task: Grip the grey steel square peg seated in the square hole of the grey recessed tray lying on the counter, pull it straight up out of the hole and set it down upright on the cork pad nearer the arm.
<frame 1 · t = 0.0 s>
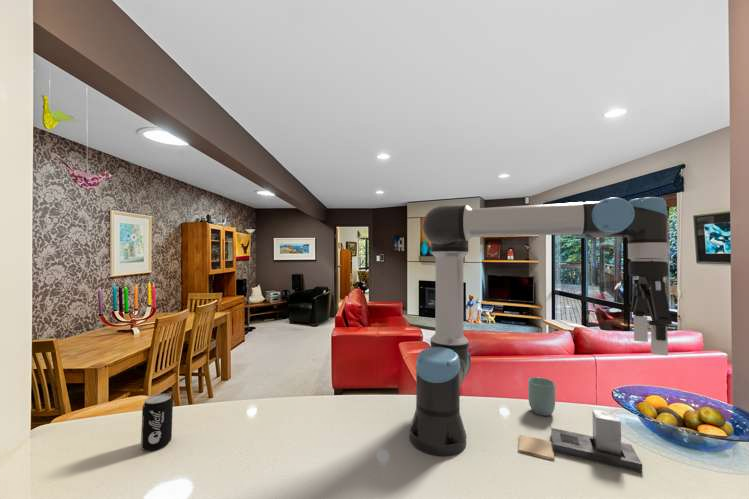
hand: (649, 347, 78), 28 cm above the counter, fingers open, 13 cm apart
cork pad: (535, 447, 83), on the counter
steel peg: (606, 455, 80), resting in grey recessed tray
cup: (541, 413, 103), on the counter
grey recessed tray: (592, 452, 82), on the counter
beverage can: (156, 445, 83), on the counter
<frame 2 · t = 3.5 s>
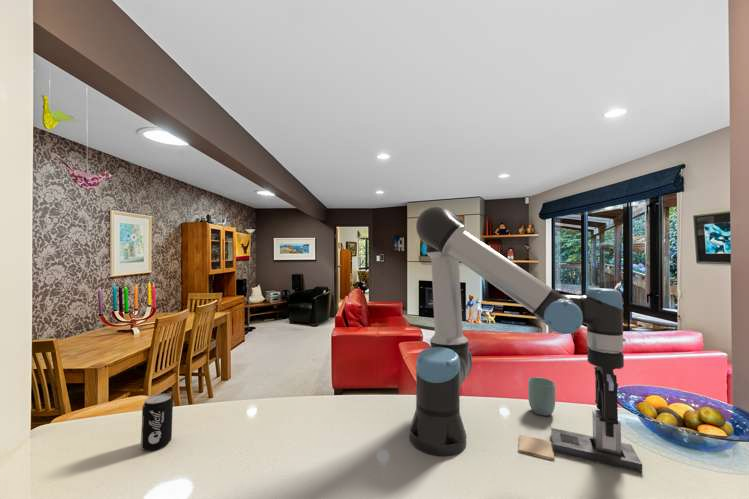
hand: (606, 442, 81), 3 cm above the counter, fingers closed on steel peg, 5 cm apart
steel peg: (606, 455, 80), resting in grey recessed tray, touching gripper
everything else where it was.
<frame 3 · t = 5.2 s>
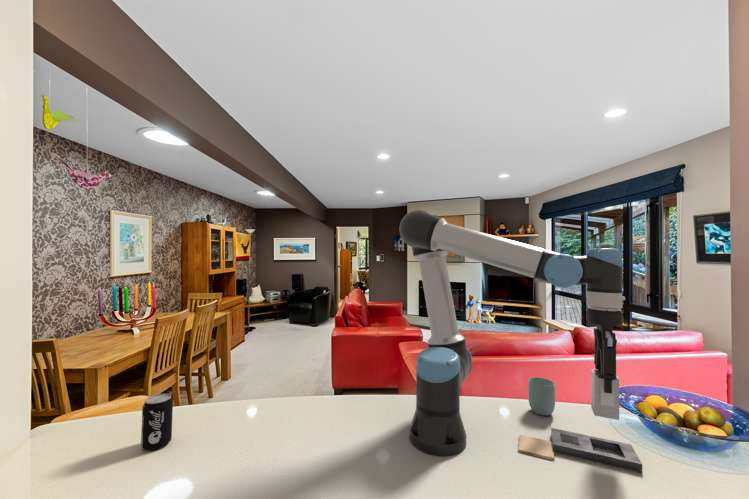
hand: (604, 400, 81), 14 cm above the counter, fingers closed on steel peg, 5 cm apart
steel peg: (604, 413, 81), point 10 cm above the counter, touching gripper
everything else where it was.
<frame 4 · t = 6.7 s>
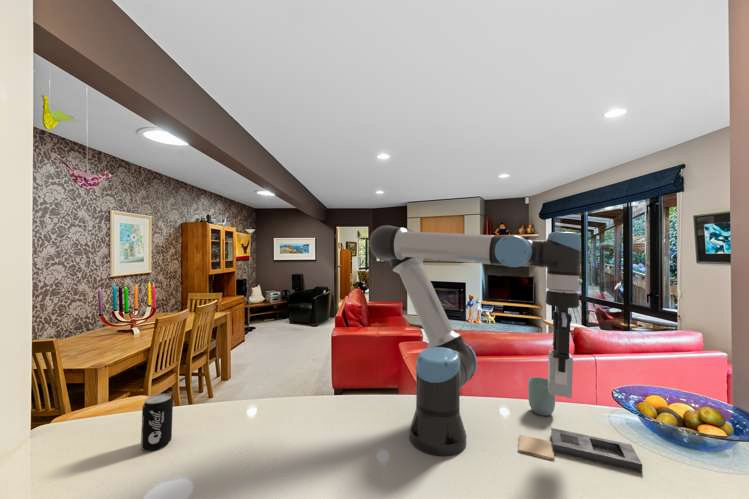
hand: (559, 379, 83), 18 cm above the counter, fingers closed on steel peg, 5 cm apart
steel peg: (559, 392, 83), point 15 cm above the counter, touching gripper
everything else where it was.
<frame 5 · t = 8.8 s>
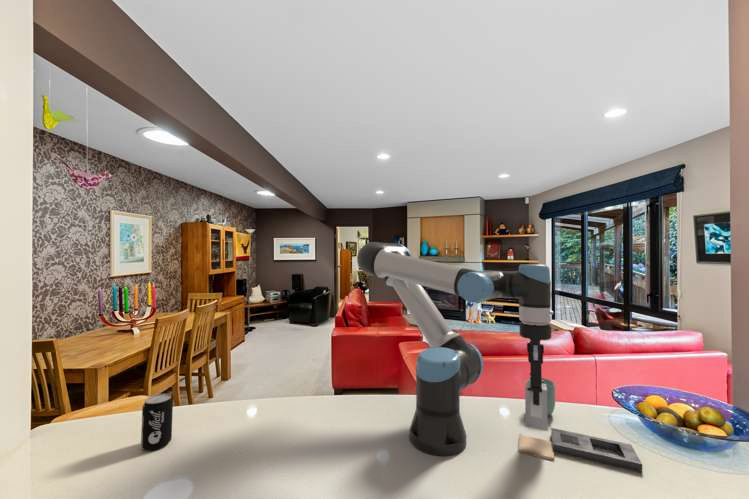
hand: (536, 411, 84), 9 cm above the counter, fingers closed on steel peg, 5 cm apart
steel peg: (536, 424, 84), point 6 cm above the counter, touching gripper
everything else where it was.
when the fingers open (6 cm above the counter, at t = 10.3 s): steel peg drops 2 cm, resting on cork pad.
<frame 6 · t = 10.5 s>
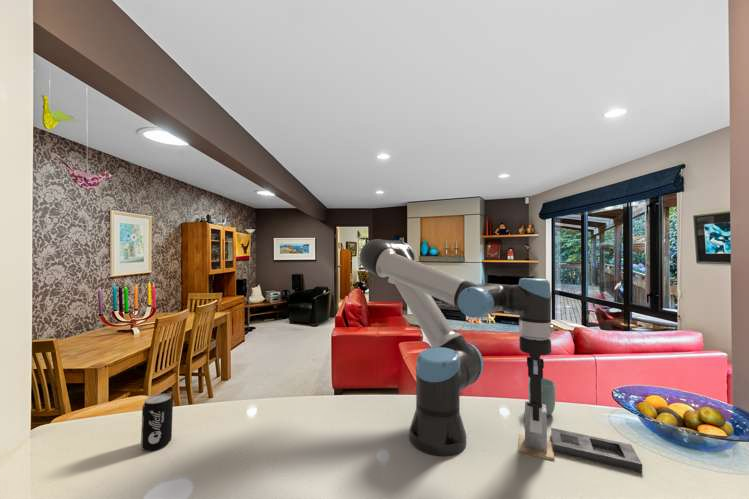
hand: (535, 424, 84), 6 cm above the counter, fingers open, 8 cm apart
steel peg: (535, 445, 84), point 1 cm above the counter, touching cork pad
everything else where it was.
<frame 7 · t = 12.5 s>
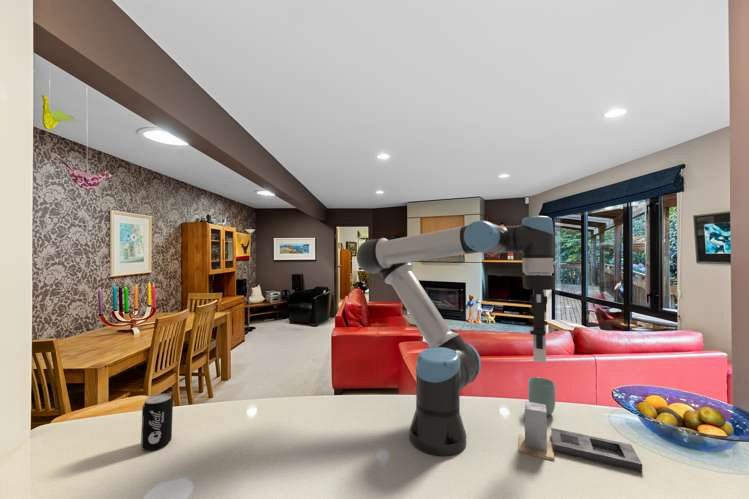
hand: (539, 354, 85), 24 cm above the counter, fingers open, 13 cm apart
nothing on the counter moved.
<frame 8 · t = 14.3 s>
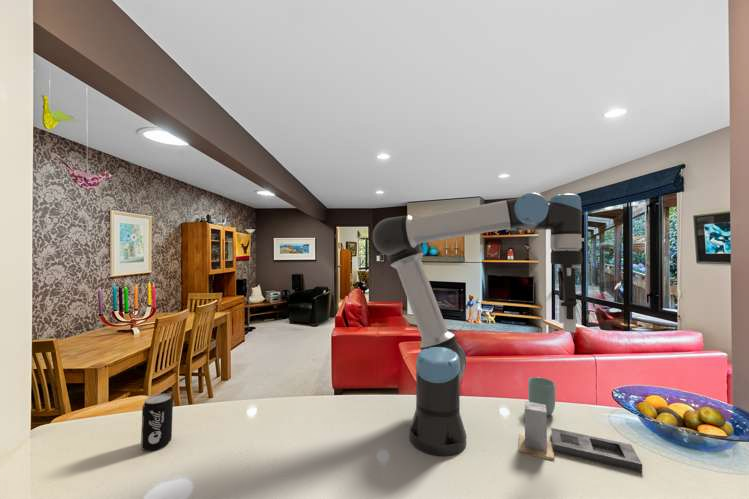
hand: (566, 327, 88), 31 cm above the counter, fingers open, 13 cm apart
nothing on the counter moved.
at the end: steel peg inside the target area on the cork pad (0.0 cm from its centre), point 0.6 cm above the cork pad's base; steel peg tilted 0°; the gripper is holding nothing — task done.
